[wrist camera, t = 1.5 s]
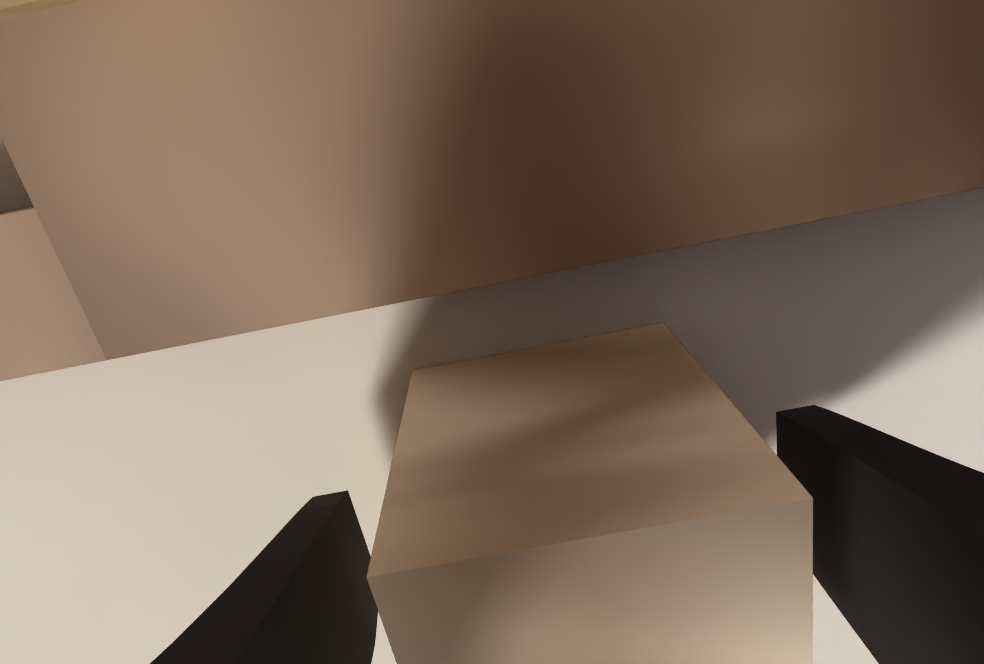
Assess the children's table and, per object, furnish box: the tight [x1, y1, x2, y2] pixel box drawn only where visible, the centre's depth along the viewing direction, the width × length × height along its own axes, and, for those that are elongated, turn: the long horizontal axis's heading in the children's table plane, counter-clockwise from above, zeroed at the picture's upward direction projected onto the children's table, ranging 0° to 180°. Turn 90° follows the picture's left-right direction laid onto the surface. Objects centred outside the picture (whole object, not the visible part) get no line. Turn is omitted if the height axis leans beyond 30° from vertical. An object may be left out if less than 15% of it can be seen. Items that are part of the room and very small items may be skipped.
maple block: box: [367, 322, 813, 664], centre depth 9 cm, size 4×4×5 cm
